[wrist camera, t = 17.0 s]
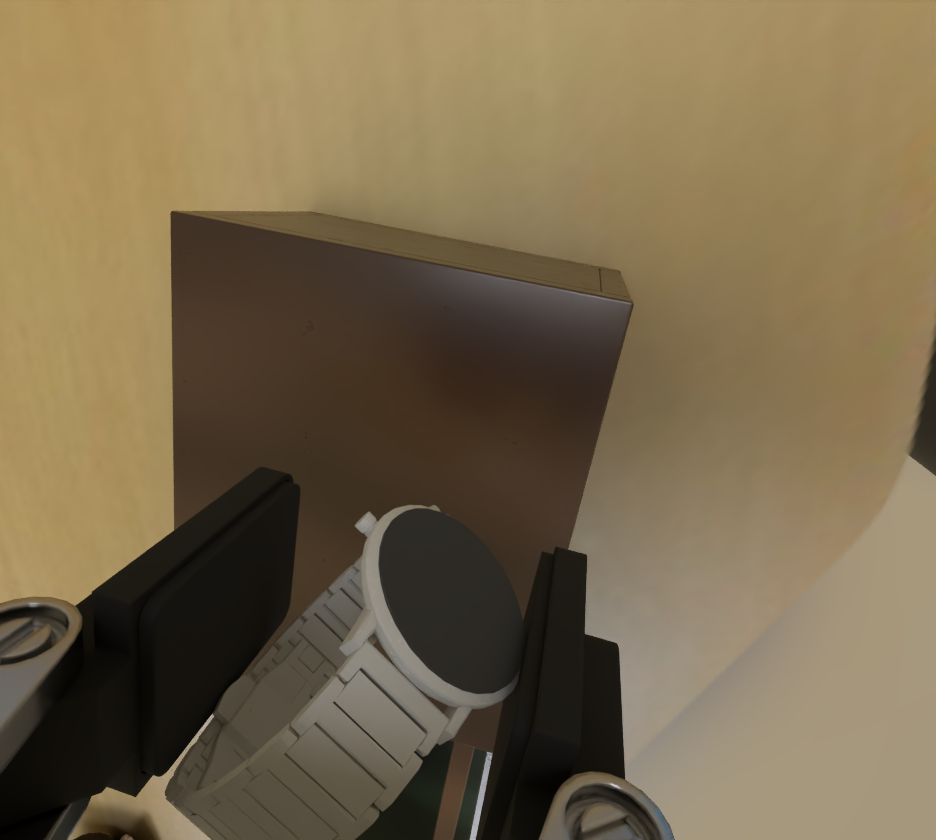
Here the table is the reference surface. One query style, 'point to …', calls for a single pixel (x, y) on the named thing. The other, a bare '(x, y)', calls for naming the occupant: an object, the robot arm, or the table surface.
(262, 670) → the wristwatch
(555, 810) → the robot arm
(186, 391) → the cabinet
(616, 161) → the table surface
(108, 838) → the mechanical counter
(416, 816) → the drawer
